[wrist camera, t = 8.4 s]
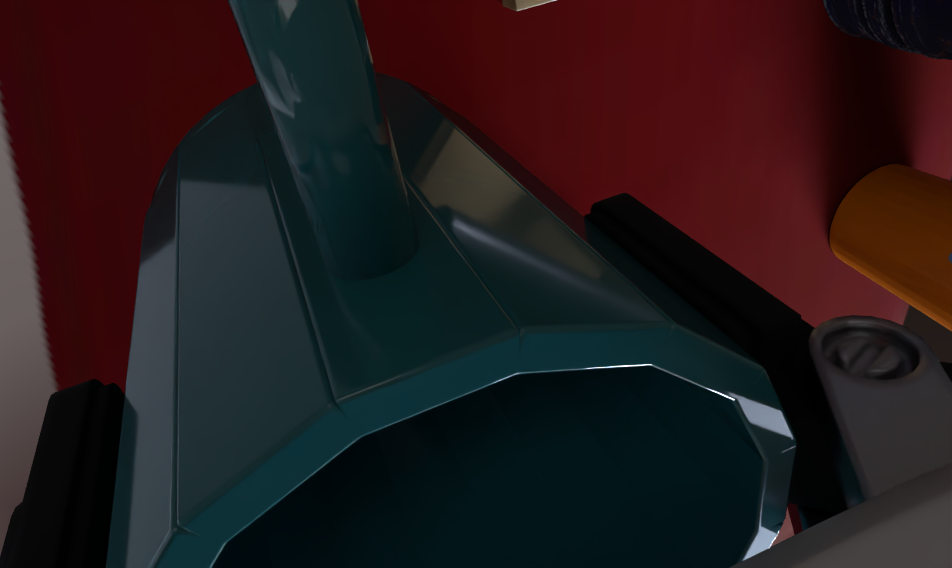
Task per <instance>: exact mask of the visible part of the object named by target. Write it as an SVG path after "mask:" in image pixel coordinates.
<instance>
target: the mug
mask: <svg viewBox="0 0 952 568" xmlns="http://www.w3.org/2000/svg"><path fill="white" fill-rule="evenodd" d="M228 3H229V6H230V8H231V11H232V14H233V17H234V19H235V22H236V25H237V28H238V30H239V33H240V36H241V39H242V41H243V44H244V47H245V50H246V52H247V55H248V58H249V61H250V63H251V66H252V69H253V71H254V74H255V77H256V80H257V82H258V83H256V84H254V85H252V86H250V87H248V88H246V89H244V90H242V91H240V92H238V93H236V94H234V95H233V96H231V97H229V98H228V99H227V100H225V101H224V102H222V103H221V104H219V105H218V106H217V107H215V108H214V109H212V110H211V111H210V112H209V113H207V114H206V115H205V116H204V117H203V118H202V119H201V120H200V121H199V122H198V123H197V124H196V125H195V126H194V127H193V128H191V129H190V131H189V132H188V133H187V134H186V136H185V137H184V138H183V139H182V141H181V142H180V143H179V144H178V146H177V147H176V148H175V149H174V151H173V153H172V155H171V156H170V158H169V160H168V162H167V163H166V165H165V167H164V169H163V170H162V172H161V175H160V178H159V180H158V183H157V185H156V188H155V190H154V193H153V197H152V201H151V205H150V207H149V209H148V211H147V213H146V216H145V221H144V229H143V238H142V247H141V256H140V265H139V274H138V283H137V292H136V301H135V310H134V318H133V327H132V336H131V345H130V354H129V363H128V372H127V381H126V390H125V399H124V408H123V417H122V426H121V435H120V444H119V452H118V461H117V470H116V479H115V488H114V497H113V506H112V515H111V524H110V533H109V542H108V551H107V560H106V568H730V567H732V566H734V565H736V564H738V563H740V562H742V561H744V560H746V559H748V558H750V557H752V556H754V555H756V554H758V553H760V552H762V551H764V550H766V549H768V548H770V546H771V544H772V543H773V541H774V539H775V537H776V536H777V534H778V532H779V530H780V529H781V527H782V525H783V521H784V519H785V517H786V511H787V505H788V498H789V492H790V486H791V480H792V474H793V468H794V462H795V455H796V449H797V442H796V440H797V438H796V436H795V434H794V431H793V429H792V427H791V425H790V423H789V420H788V418H787V416H786V414H785V411H784V409H783V407H782V405H781V403H780V400H779V398H778V396H777V394H776V392H775V389H774V387H773V385H772V383H771V380H770V378H769V376H768V374H767V372H766V369H765V368H764V367H762V366H761V364H760V363H759V362H757V361H756V360H755V359H754V358H753V357H751V356H750V355H749V354H748V353H747V352H746V351H744V350H743V349H742V348H741V347H740V346H738V345H737V344H736V343H735V342H734V341H732V340H731V339H730V338H729V337H728V336H726V335H725V334H724V333H723V332H722V331H720V330H719V329H718V328H717V327H716V326H714V325H713V324H712V323H711V322H710V321H708V320H707V319H706V318H705V317H704V316H702V315H701V314H700V313H699V312H698V311H696V310H695V309H694V308H693V307H692V306H690V305H689V304H688V303H687V302H686V301H684V300H683V299H682V298H681V297H680V296H678V295H677V294H676V293H675V292H674V291H672V290H671V289H670V288H669V287H668V286H666V285H665V284H664V283H663V282H662V281H660V280H659V279H658V278H657V277H656V276H654V275H653V274H652V273H651V272H650V271H648V270H647V269H646V268H645V267H644V266H642V265H641V264H640V263H639V262H638V261H637V260H635V259H634V258H633V257H632V256H631V255H629V254H628V253H627V252H626V251H625V250H623V249H622V248H621V247H620V246H619V245H617V244H616V243H615V242H614V241H613V240H611V239H610V238H609V237H608V236H607V235H605V234H604V233H603V232H602V231H601V230H599V229H598V228H597V227H596V226H595V225H593V224H592V223H591V222H590V221H589V220H587V219H586V218H585V217H584V216H583V215H581V214H580V213H579V212H578V211H577V210H575V209H574V208H573V207H572V206H571V205H569V204H568V203H567V202H566V201H565V200H563V199H562V198H561V197H560V196H559V195H557V194H556V193H555V192H554V191H553V190H551V189H550V188H549V187H548V186H547V185H545V184H544V183H543V182H542V181H541V180H539V179H538V178H537V177H536V176H535V175H533V174H532V173H531V172H530V171H529V170H527V169H526V168H525V167H524V166H523V165H522V164H520V163H519V162H518V161H517V160H516V159H514V158H513V157H512V156H511V155H510V154H508V153H507V152H506V151H505V150H504V149H502V148H501V147H500V146H499V145H498V144H496V143H495V142H494V141H493V140H492V139H490V138H489V137H488V136H487V135H486V134H484V133H483V132H482V131H481V130H480V129H478V128H477V127H476V126H475V125H474V124H472V123H471V122H470V121H469V120H468V119H466V118H465V117H464V116H462V115H461V114H459V113H457V112H456V111H454V110H452V109H451V108H449V107H447V106H446V105H445V104H443V103H442V102H441V101H439V100H438V99H436V98H435V97H434V96H432V95H431V94H429V93H428V92H426V91H424V90H422V89H420V88H418V87H416V86H414V85H412V84H410V83H408V82H406V81H403V80H401V79H398V78H395V77H392V76H389V75H386V74H383V73H378V72H376V71H375V67H374V63H373V59H372V55H371V52H370V48H369V44H368V40H367V36H366V32H365V28H364V24H363V21H362V17H361V13H360V9H359V5H358V1H357V0H228Z"/></svg>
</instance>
